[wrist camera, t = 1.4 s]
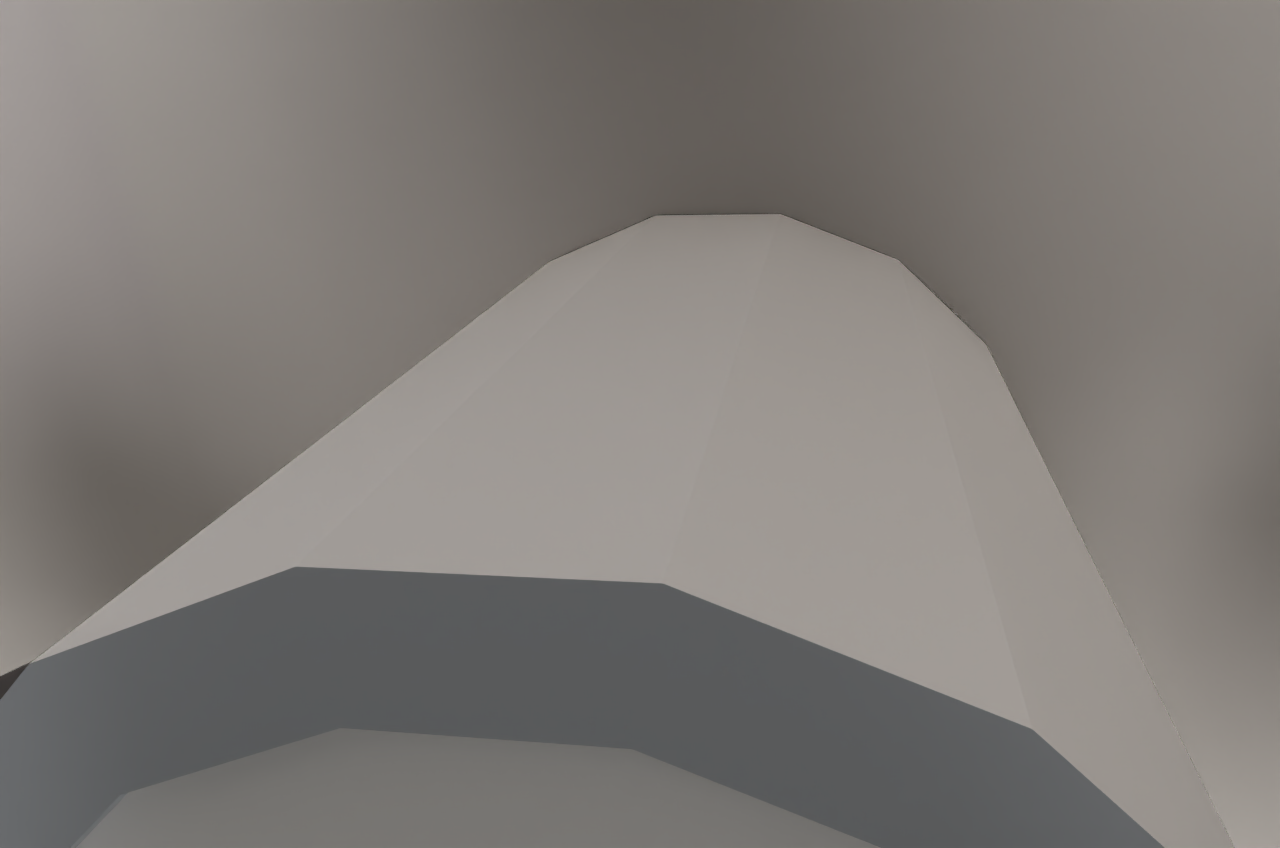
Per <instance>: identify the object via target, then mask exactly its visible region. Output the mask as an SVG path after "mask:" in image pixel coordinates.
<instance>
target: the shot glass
mask: <svg viewBox="0 0 1280 848" xmlns="http://www.w3.org/2000/svg"><path fill="white" fill-rule="evenodd" d="M0 848H1234V846H1233V844H1232V842H1231V839H1230V837H1229V835H1228V833H1227V831H1226V829H1225V827H1224V825H1223V823H1222V821H1221V819H1220V817H1219V815H1218V813H1217V811H1216V809H1215V807H1214V805H1213V803H1212V801H1211V799H1210V797H1209V795H1208V793H1207V791H1206V789H1205V787H1204V785H1203V783H1202V781H1201V779H1200V777H1199V775H1198V773H1197V771H1196V769H1195V767H1194V765H1193V763H1192V761H1191V758H1190V756H1189V754H1188V752H1187V750H1186V748H1185V746H1184V744H1183V742H1182V740H1181V738H1180V736H1179V734H1178V732H1177V730H1176V728H1175V726H1174V724H1173V722H1172V720H1171V718H1170V716H1169V714H1168V712H1167V710H1166V708H1165V706H1164V704H1163V702H1162V700H1161V698H1160V696H1159V694H1158V692H1157V690H1156V688H1155V686H1154V684H1153V682H1152V680H1151V677H1150V675H1149V673H1148V671H1147V669H1146V667H1145V665H1144V663H1143V661H1142V659H1141V657H1140V655H1139V653H1138V651H1137V649H1136V647H1135V645H1134V643H1133V641H1132V639H1131V637H1130V635H1129V633H1128V631H1127V629H1126V627H1125V625H1124V623H1123V621H1122V619H1121V617H1120V615H1119V613H1118V611H1117V609H1116V607H1115V605H1114V603H1113V601H1112V599H1111V596H1110V594H1109V592H1108V590H1107V588H1106V586H1105V584H1104V582H1103V580H1102V578H1101V576H1100V574H1099V572H1098V570H1097V568H1096V566H1095V564H1094V562H1093V560H1092V558H1091V556H1090V554H1089V552H1088V550H1087V548H1086V546H1085V544H1084V542H1083V540H1082V538H1081V536H1080V534H1079V532H1078V530H1077V528H1076V526H1075V524H1074V522H1073V520H1072V518H1071V515H1070V513H1069V511H1068V509H1067V507H1066V505H1065V503H1064V501H1063V499H1062V497H1061V495H1060V493H1059V491H1058V489H1057V487H1056V485H1055V483H1054V481H1053V479H1052V477H1051V475H1050V473H1049V471H1048V469H1047V467H1046V465H1045V463H1044V461H1043V459H1042V457H1041V455H1040V453H1039V451H1038V449H1037V447H1036V445H1035V443H1034V441H1033V439H1032V437H1031V434H1030V432H1029V430H1028V428H1027V426H1026V424H1025V422H1024V420H1023V418H1022V416H1021V414H1020V412H1019V410H1018V408H1017V406H1016V404H1015V402H1014V400H1013V398H1012V396H1011V394H1010V392H1009V390H1008V388H1007V386H1006V384H1005V382H1004V380H1003V378H1002V376H1001V374H1000V372H999V370H998V368H997V366H996V364H995V362H994V360H993V358H992V356H991V353H990V351H989V349H988V347H987V345H986V344H985V343H984V342H983V341H982V340H981V339H980V338H979V337H978V336H977V335H976V334H975V333H974V332H973V331H972V330H971V329H970V328H969V327H967V326H966V325H965V324H964V323H963V322H962V321H961V320H960V319H959V318H958V317H957V316H956V315H955V314H954V313H953V312H952V311H951V310H950V309H949V308H948V307H947V306H946V305H945V304H944V303H943V302H942V301H941V300H939V299H938V298H937V297H936V296H935V295H934V294H933V293H932V292H931V291H930V290H929V289H928V288H927V287H926V286H925V285H924V284H923V283H922V282H921V281H920V280H919V279H918V278H917V277H916V276H915V275H914V274H913V273H911V272H910V271H909V270H908V269H907V268H906V267H905V266H904V265H903V264H902V263H901V262H900V261H899V260H897V259H895V258H892V257H890V256H887V255H884V254H882V253H879V252H877V251H874V250H872V249H869V248H866V247H864V246H861V245H859V244H856V243H854V242H851V241H849V240H846V239H843V238H841V237H838V236H836V235H833V234H831V233H828V232H825V231H823V230H820V229H818V228H815V227H813V226H810V225H807V224H805V223H802V222H800V221H797V220H795V219H792V218H789V217H787V216H784V215H782V214H734V215H656V216H653V217H651V218H649V219H646V220H644V221H642V222H640V223H637V224H635V225H633V226H630V227H628V228H626V229H623V230H621V231H619V232H617V233H614V234H612V235H610V236H607V237H605V238H603V239H600V240H598V241H596V242H593V243H591V244H589V245H587V246H584V247H582V248H580V249H577V250H575V251H573V252H570V253H568V254H566V255H563V256H561V257H559V258H557V259H554V260H552V261H550V262H548V263H547V264H546V265H544V266H543V267H542V268H540V269H539V270H538V271H537V272H535V273H534V274H533V275H531V276H530V277H529V278H527V279H526V280H525V281H524V282H522V283H521V284H520V285H518V286H517V287H516V288H515V289H513V290H512V291H511V292H509V293H508V294H507V295H505V296H504V297H503V298H502V299H500V300H499V301H498V302H496V303H495V304H494V305H493V306H491V307H490V308H489V309H487V310H486V311H485V312H484V313H482V314H481V315H480V316H478V317H477V318H476V319H474V320H473V321H472V322H471V323H469V324H468V325H467V326H465V327H464V328H463V329H462V330H460V331H459V332H458V333H456V334H455V335H454V336H452V337H451V338H450V339H449V340H447V341H446V342H445V343H443V344H442V345H441V346H440V347H438V348H437V349H436V350H434V351H433V352H432V353H430V354H429V355H428V356H427V357H425V358H424V359H423V360H421V361H420V362H419V363H418V364H416V365H415V366H414V367H412V368H411V369H410V370H409V371H407V372H406V373H405V374H403V375H402V376H401V377H399V378H398V379H397V380H396V381H394V382H393V383H392V384H390V385H389V386H388V387H387V388H385V389H384V390H383V391H381V392H380V393H379V394H377V395H376V396H375V397H374V398H372V399H371V400H370V401H368V402H367V403H366V404H365V405H363V406H362V407H361V408H359V409H358V410H357V411H356V412H354V413H353V414H352V415H350V416H349V417H348V418H346V419H345V420H344V421H343V422H341V423H340V424H339V425H337V426H336V427H335V428H334V429H332V430H331V431H330V432H328V433H327V434H326V435H324V436H323V437H322V438H321V439H319V440H318V441H317V442H315V443H314V444H313V445H312V446H310V447H309V448H308V449H306V450H305V451H304V452H302V453H301V454H300V455H299V456H297V457H296V458H295V459H293V460H292V461H291V462H290V463H288V464H287V465H286V466H284V467H283V468H282V469H281V470H279V471H278V472H277V473H275V474H274V475H273V476H271V477H270V478H269V479H268V480H266V481H265V482H264V483H262V484H261V485H260V486H259V487H257V488H256V489H255V490H253V491H252V492H251V493H249V494H248V495H247V496H246V497H244V498H243V499H242V500H240V501H239V502H238V503H237V504H235V505H234V506H233V507H231V508H230V509H229V510H227V511H226V512H225V513H224V514H222V515H221V516H220V517H218V518H217V519H216V520H215V521H213V522H212V523H211V524H209V525H208V526H207V527H206V528H204V529H203V530H202V531H200V532H199V533H198V534H196V535H195V536H194V537H193V538H191V539H190V540H189V541H187V542H186V543H185V544H184V545H182V546H181V547H180V548H178V549H177V550H176V551H174V552H173V553H172V554H171V555H169V556H168V557H167V558H165V559H164V560H163V561H162V562H160V563H159V564H158V565H156V566H155V567H154V568H152V569H151V570H150V571H149V572H147V573H146V574H145V575H143V576H142V577H141V578H140V579H138V580H137V581H136V582H134V583H133V584H132V585H131V586H129V587H128V588H127V589H125V590H124V591H123V592H121V593H120V594H119V595H118V596H116V597H115V598H114V599H112V600H111V601H110V602H109V603H107V604H106V605H105V606H103V607H102V608H101V609H99V610H98V611H97V612H96V613H94V614H93V615H92V616H90V617H89V618H88V619H87V620H85V621H84V622H83V623H81V624H80V625H79V626H77V627H76V628H75V629H74V630H72V631H71V632H70V633H68V634H67V635H66V636H65V637H63V638H62V639H61V640H59V641H58V642H57V643H56V644H54V645H53V646H52V647H50V648H49V649H48V650H46V651H45V652H44V653H43V654H41V655H40V656H39V657H37V658H36V659H35V660H34V661H32V662H31V663H30V664H29V665H28V666H27V667H26V668H25V670H24V671H23V672H22V673H21V675H20V676H19V677H18V678H17V680H16V681H15V682H14V683H13V685H12V686H11V687H10V688H9V690H8V691H7V692H6V693H5V695H4V696H3V697H2V698H1V700H0Z"/></svg>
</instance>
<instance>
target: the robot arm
mask: <svg viewBox="0 0 1280 848" xmlns="http://www.w3.org/2000/svg"><path fill="white" fill-rule="evenodd" d="M30 663H31V662H30ZM30 663H28V664H26V665H23V666H21V667H19V668H17V669H15V670H13V671H11V672H9V673H6V674H4V675H2V676H0V700H1V698H2V697H3V696H4V695H5V693H6V692H7V691H8V690H9V688H10V687H11V686H12V685H13V683H14V682H15V681H16V680H17V678H18V677H19V676H20V675H21V673H22V672H23V671H24V670H25V668H26V667H27V666H28V665H29V664H30Z"/></svg>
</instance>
